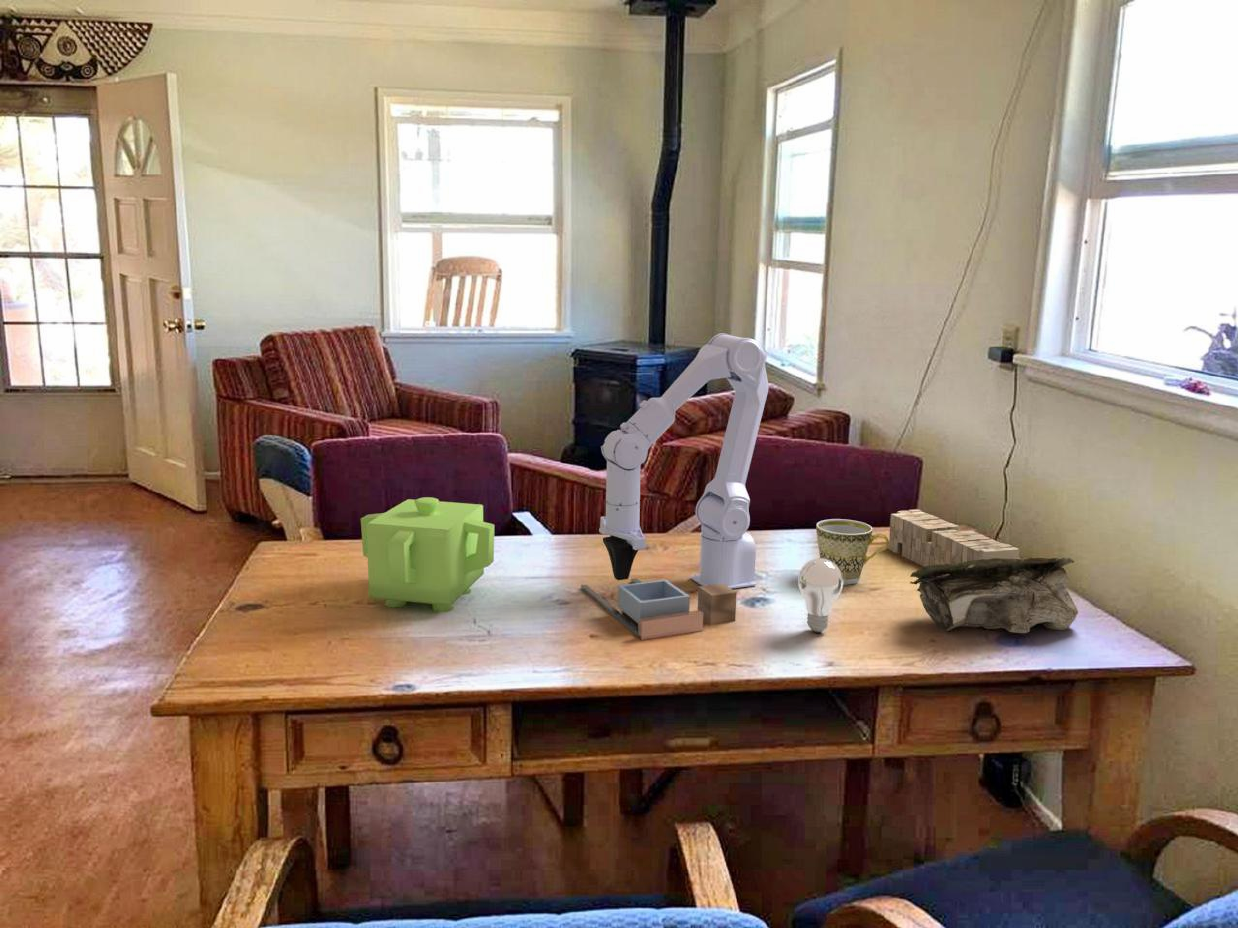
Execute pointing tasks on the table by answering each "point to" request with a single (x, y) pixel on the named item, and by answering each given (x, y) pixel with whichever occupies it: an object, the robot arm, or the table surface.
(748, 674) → the table surface
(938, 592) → the driftwood chunk
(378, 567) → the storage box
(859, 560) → the ceramic cup
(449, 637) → the table surface
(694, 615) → the rails
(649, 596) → the grey open tray bin
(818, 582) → the light bulb
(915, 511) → the block tower
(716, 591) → the walnut block
